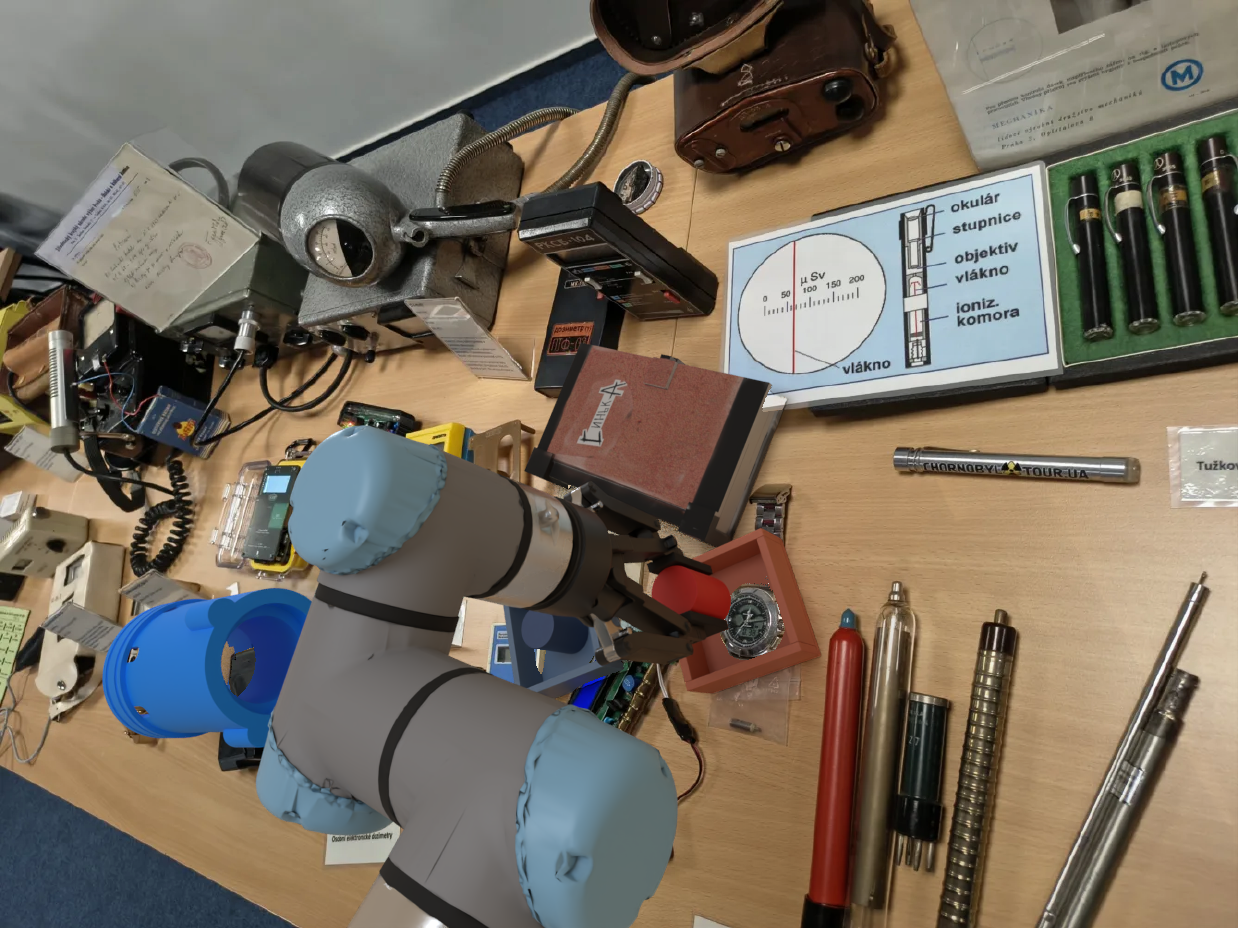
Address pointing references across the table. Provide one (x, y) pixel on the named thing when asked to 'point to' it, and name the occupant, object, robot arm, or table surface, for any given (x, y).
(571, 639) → the blue canister
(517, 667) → the blue bin
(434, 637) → the robot arm
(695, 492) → the book
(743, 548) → the red bin
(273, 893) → the table surface
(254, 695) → the blue pipe coupling
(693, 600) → the red canister
